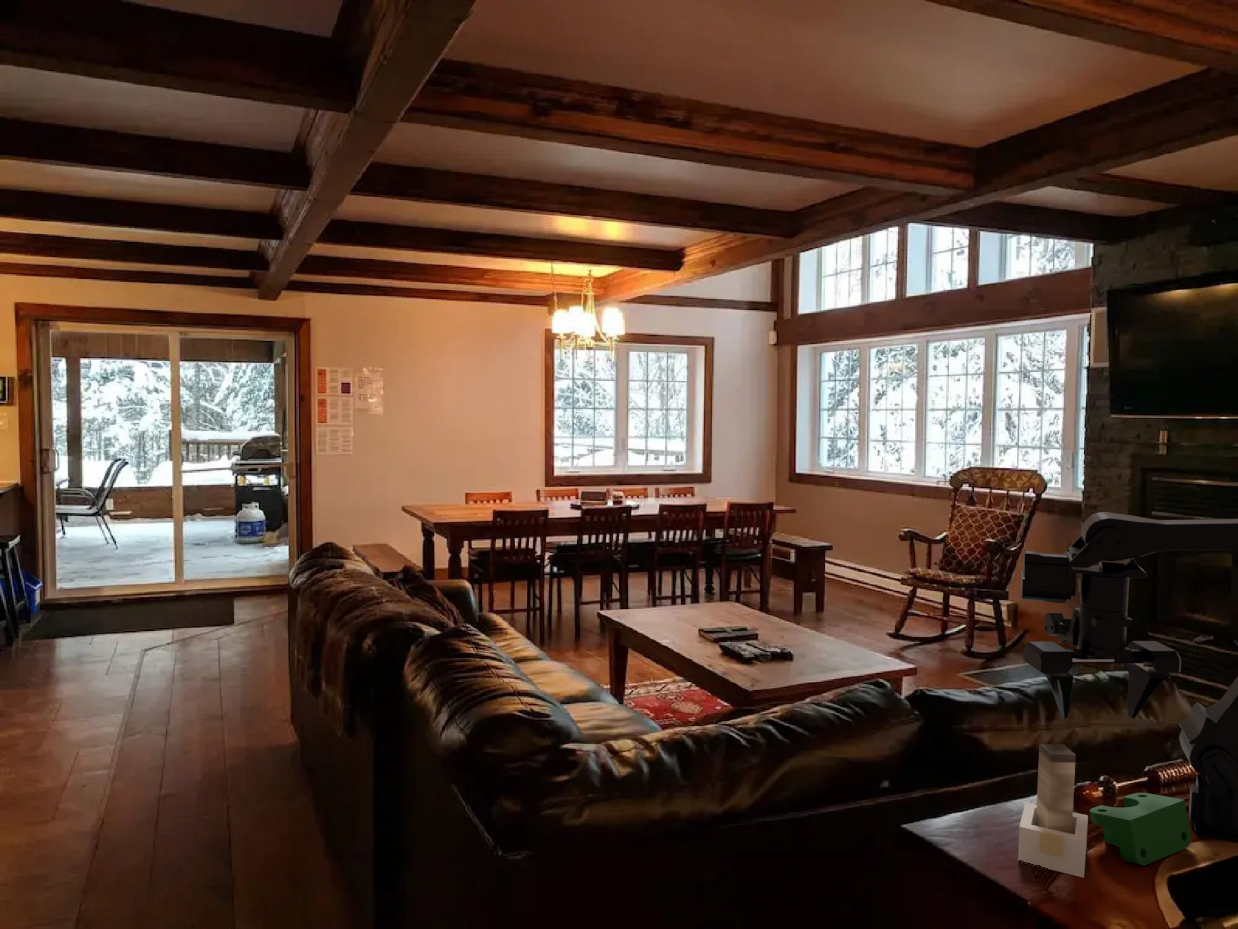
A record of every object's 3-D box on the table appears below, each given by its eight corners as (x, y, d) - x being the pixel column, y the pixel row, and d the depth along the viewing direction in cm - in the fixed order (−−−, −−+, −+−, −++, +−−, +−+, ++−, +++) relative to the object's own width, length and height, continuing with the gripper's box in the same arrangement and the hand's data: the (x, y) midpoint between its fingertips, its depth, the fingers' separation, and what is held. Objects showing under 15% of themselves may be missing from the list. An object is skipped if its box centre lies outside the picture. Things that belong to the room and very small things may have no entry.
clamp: (1142, 865, 114) (1147, 794, 117) (1189, 877, 109) (1192, 802, 112) (1081, 849, 110) (1088, 775, 112) (1127, 861, 105) (1132, 783, 107)
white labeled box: (1086, 849, 110) (1088, 814, 110) (1083, 880, 103) (1085, 843, 103) (1023, 834, 114) (1025, 801, 113) (1017, 863, 107) (1018, 828, 106)
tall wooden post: (1059, 843, 110) (1063, 744, 109) (1070, 856, 107) (1075, 754, 106) (1035, 843, 110) (1039, 744, 109) (1046, 856, 107) (1050, 754, 106)
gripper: (1136, 591, 126) (1131, 696, 127) (1007, 592, 126) (1003, 696, 127) (1186, 612, 115) (1179, 726, 116) (1045, 613, 115) (1040, 727, 116)
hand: (1097, 717), depth 119 cm, fingers open, 9 cm apart
